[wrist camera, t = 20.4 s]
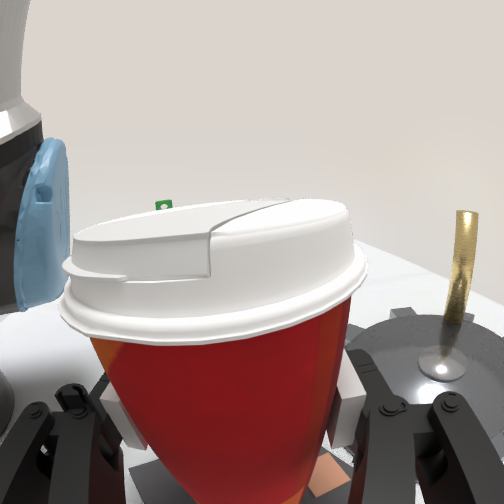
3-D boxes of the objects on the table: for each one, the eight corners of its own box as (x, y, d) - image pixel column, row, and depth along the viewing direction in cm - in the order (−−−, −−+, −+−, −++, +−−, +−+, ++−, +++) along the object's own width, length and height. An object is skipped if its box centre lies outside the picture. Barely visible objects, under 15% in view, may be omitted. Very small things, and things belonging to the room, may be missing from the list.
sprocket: (432, 542, 4) (610, 345, 1) (275, 356, 25) (267, 218, 22) (555, 366, 10) (591, 238, 7) (424, 300, 31) (432, 203, 28)
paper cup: (242, 422, 15) (212, 199, 12) (348, 468, 11) (395, 197, 7) (151, 490, 10) (31, 237, 6) (262, 571, 5) (121, 305, 1)
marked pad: (131, 472, 12) (127, 467, 12) (272, 412, 19) (271, 406, 19) (222, 608, 3) (219, 609, 2) (392, 496, 9) (396, 491, 9)
